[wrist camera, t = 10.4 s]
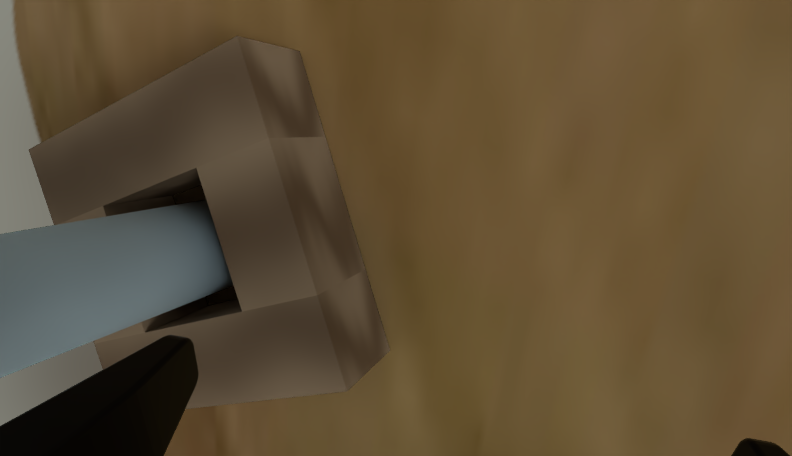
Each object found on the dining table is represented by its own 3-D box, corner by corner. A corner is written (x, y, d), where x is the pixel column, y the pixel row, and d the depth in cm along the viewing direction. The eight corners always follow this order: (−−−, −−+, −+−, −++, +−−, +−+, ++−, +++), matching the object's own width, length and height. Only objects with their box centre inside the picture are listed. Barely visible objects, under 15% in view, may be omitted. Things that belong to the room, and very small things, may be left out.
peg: (282, 239, 24) (-83, 355, 12) (240, 298, 26) (-116, 454, 14) (224, 178, 25) (-176, 226, 13) (187, 239, 27) (-194, 335, 14)
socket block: (390, 350, 23) (347, 391, 19) (180, 380, 29) (118, 416, 25) (299, 51, 22) (237, 35, 19) (104, 147, 28) (28, 149, 25)
